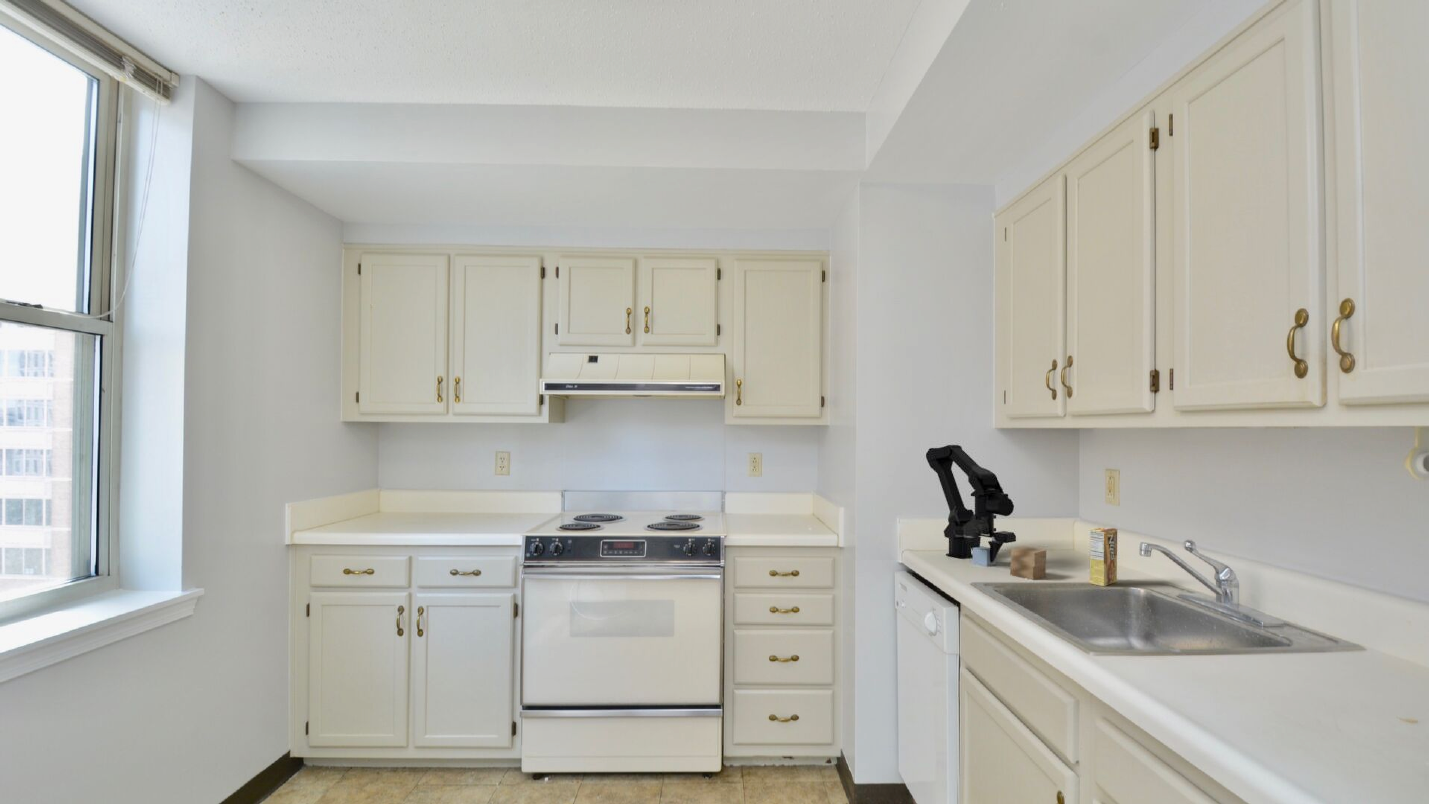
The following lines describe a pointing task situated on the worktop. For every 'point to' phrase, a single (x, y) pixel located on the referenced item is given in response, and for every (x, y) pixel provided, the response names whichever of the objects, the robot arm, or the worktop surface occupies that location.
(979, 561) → the blue block
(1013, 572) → the tower base
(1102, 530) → the candy box
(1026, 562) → the tower top
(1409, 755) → the worktop surface
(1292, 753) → the worktop surface
